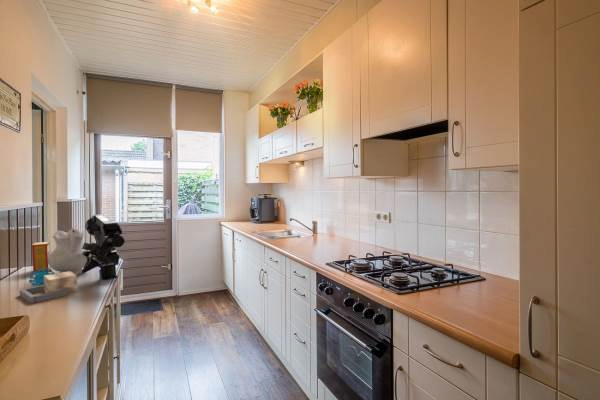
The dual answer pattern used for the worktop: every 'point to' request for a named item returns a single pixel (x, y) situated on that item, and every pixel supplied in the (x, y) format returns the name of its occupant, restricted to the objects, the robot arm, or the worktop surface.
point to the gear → (39, 276)
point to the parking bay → (31, 298)
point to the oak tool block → (60, 282)
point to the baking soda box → (40, 256)
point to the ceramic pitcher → (68, 252)
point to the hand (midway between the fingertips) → (82, 272)
